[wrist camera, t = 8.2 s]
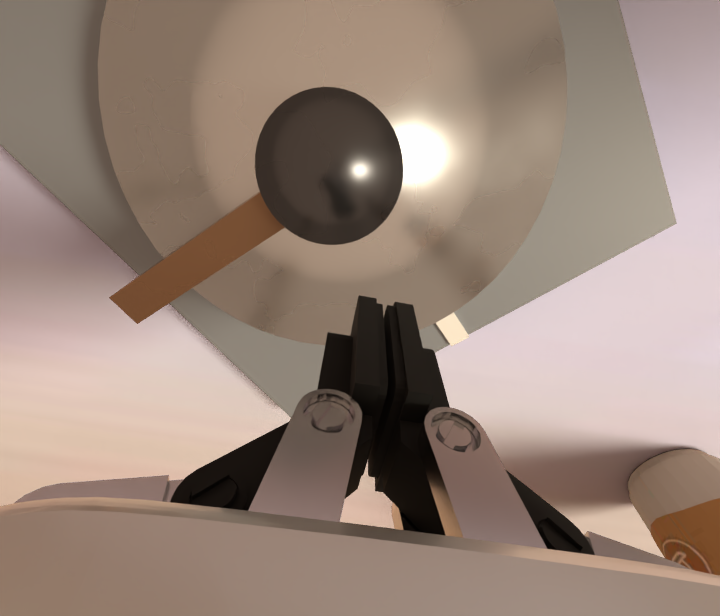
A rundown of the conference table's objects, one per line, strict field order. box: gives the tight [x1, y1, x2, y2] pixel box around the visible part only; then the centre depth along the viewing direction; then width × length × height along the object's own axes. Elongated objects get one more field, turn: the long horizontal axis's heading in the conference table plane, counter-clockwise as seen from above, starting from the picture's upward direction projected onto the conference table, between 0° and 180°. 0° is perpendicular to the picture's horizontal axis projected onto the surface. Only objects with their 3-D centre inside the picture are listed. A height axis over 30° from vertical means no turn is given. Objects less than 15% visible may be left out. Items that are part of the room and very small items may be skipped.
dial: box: [98, 0, 567, 345], centre depth 12 cm, size 16×16×5 cm
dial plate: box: [0, 0, 676, 417], centre depth 15 cm, size 21×21×2 cm
